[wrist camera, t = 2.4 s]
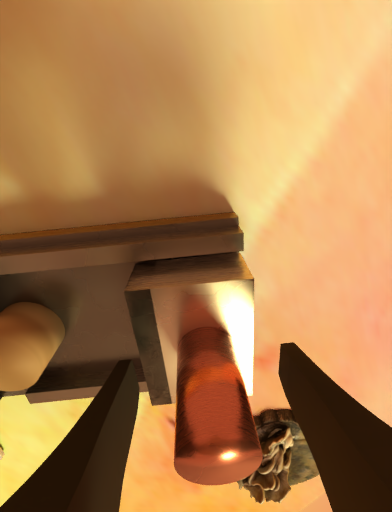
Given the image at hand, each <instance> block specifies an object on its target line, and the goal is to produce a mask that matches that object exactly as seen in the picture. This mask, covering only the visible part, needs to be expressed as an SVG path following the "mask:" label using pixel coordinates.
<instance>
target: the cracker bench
mask: <svg viewBox="0 0 392 512" xmlns="http://www.w3.org/2000/svg"><path fill="white" fill-rule="evenodd" d="M239 251H244V243H243V232H242V230H241V229H240V227H239V222H238V216H237V215H236V214H235V212H230V213H219V214H209V215H199V216H189V217H178V218H168V219H158V220H148V221H138V222H127V223H117V224H107V225H97V226H87V227H76V228H66V229H56V230H46V231H35V232H25V233H15V234H5V235H0V313H1V312H2V311H3V310H4V309H5V308H6V307H8V306H9V305H12V304H14V303H19V302H31V303H36V304H40V305H42V306H45V307H47V308H49V309H50V310H52V311H53V312H54V313H55V314H57V315H58V317H59V318H60V319H61V321H62V322H63V324H64V328H65V336H64V339H63V341H62V342H61V344H60V345H59V347H58V349H57V350H56V352H55V353H54V355H53V357H52V358H51V360H50V361H49V363H48V364H47V366H46V368H45V369H44V371H43V372H42V374H41V376H40V377H39V379H38V380H37V382H36V383H35V384H34V385H32V386H31V387H29V388H26V389H24V390H20V391H0V400H1V398H2V397H4V396H14V395H24V394H25V395H26V397H27V399H28V401H29V402H30V404H32V403H42V402H52V401H61V400H71V399H81V398H90V397H95V396H96V395H97V393H98V392H99V390H100V389H101V387H102V386H103V384H104V383H105V381H106V380H107V378H108V377H109V375H110V373H111V372H112V370H113V369H114V367H115V365H116V364H117V362H118V361H119V360H127V359H132V361H133V365H134V369H135V373H136V376H137V380H138V384H139V388H140V390H139V392H148V387H147V383H146V379H145V375H144V371H143V367H142V363H141V359H140V355H139V351H138V347H137V343H136V339H135V335H134V331H133V327H132V323H131V319H130V315H129V311H128V307H127V302H126V298H125V294H124V290H125V287H126V285H127V283H128V280H129V278H130V275H131V273H132V271H133V268H134V266H135V263H141V262H151V261H161V260H171V259H181V258H191V257H201V256H211V255H222V254H232V253H239Z"/></svg>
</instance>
